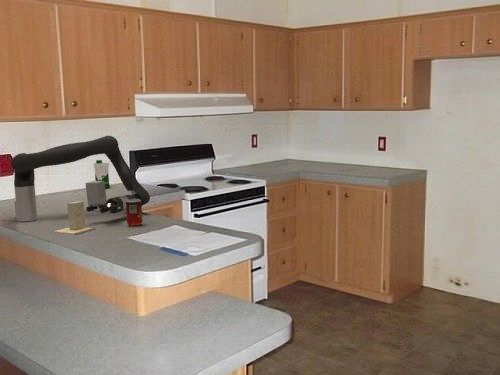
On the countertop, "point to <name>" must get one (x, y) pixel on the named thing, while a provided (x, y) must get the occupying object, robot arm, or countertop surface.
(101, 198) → the skincare box
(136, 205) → the soda can
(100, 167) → the milk carton
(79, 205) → the skincare box
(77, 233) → the notepad
